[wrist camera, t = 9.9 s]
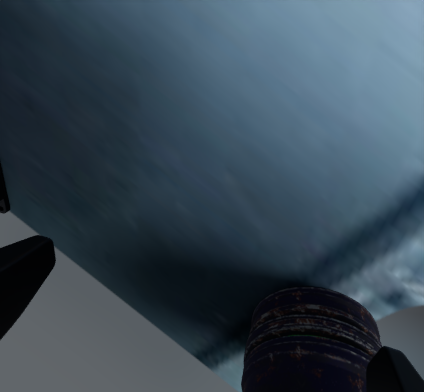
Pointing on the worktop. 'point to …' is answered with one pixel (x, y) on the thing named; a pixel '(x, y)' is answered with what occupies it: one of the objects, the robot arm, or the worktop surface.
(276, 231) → the worktop surface
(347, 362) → the dark purple barrel
